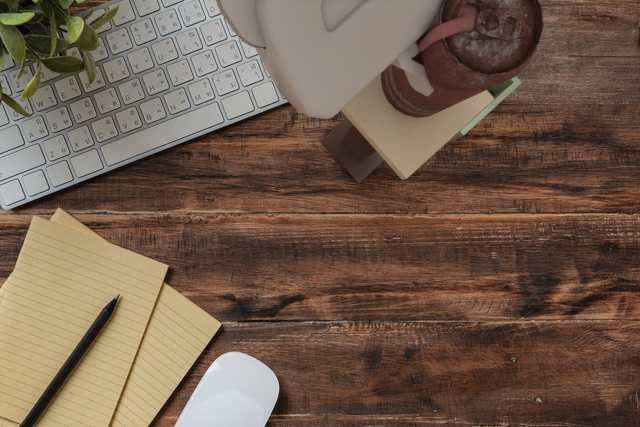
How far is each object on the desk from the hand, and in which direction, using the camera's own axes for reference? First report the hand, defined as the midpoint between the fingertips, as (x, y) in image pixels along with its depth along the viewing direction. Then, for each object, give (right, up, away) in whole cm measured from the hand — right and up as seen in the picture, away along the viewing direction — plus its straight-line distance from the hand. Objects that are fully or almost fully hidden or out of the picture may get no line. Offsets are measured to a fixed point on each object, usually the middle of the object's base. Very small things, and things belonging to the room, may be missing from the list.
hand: (456, 60), depth 30 cm
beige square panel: (-1, 0, +11) cm, 11 cm away
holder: (+10, +8, +39) cm, 41 cm away
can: (-1, +1, +9) cm, 9 cm away
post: (-3, 0, +38) cm, 38 cm away
